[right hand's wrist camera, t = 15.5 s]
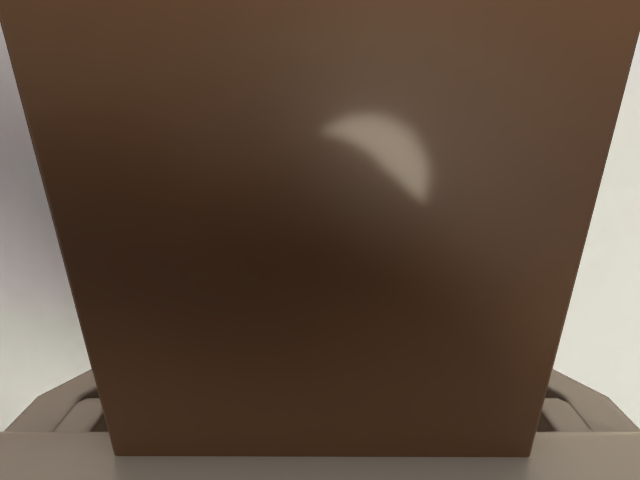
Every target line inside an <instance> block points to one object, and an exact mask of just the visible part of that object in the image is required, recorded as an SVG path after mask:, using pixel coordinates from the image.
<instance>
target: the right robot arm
mask: <svg viewBox="0 0 640 480" xmlns="http://www.w3.org/2000/svg"><path fill="white" fill-rule="evenodd" d="M0 480H640V429H639V428H638V427H637V426H636V425H635V424H634V423H633V422H632V421H631V420H630V419H629V418H628V417H627V416H626V415H625V414H624V413H623V412H622V411H621V410H620V409H619V408H618V407H617V406H616V405H615V404H614V403H613V402H612V401H611V400H610V399H609V398H608V397H607V396H605V395H603V394H601V393H599V392H597V391H595V390H593V389H591V388H589V387H587V386H585V385H583V384H581V383H579V382H577V381H575V380H573V379H571V378H569V377H567V376H565V375H563V374H561V373H559V372H557V371H555V370H553V369H552V372H551V376H550V380H549V384H548V388H547V392H546V396H545V400H544V403H543V407H542V411H541V415H540V419H539V423H538V427H537V430H536V434H535V438H534V442H533V446H532V450H531V454H530V456H529V457H248V456H115V455H114V451H113V447H112V444H111V440H110V436H109V432H108V428H107V425H106V421H105V417H104V413H103V409H102V406H101V402H100V398H99V394H98V390H97V387H96V383H95V379H94V375H93V371H92V369H91V370H89V371H87V372H85V373H83V374H81V375H79V376H77V377H75V378H73V379H71V380H69V381H67V382H66V383H64V384H62V385H60V386H58V387H56V388H54V389H52V390H50V391H48V392H46V393H44V394H42V395H40V396H38V397H37V398H36V399H35V400H34V401H33V402H32V403H31V404H30V405H29V406H28V407H27V408H26V409H25V410H24V411H23V412H22V413H21V414H20V415H19V416H18V417H17V418H16V419H15V420H14V422H13V423H12V424H11V425H10V426H9V427H8V428H7V429H6V430H5V431H4V432H0Z"/></svg>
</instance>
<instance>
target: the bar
mask: <svg viewBox="0 0 640 480" xmlns="http://www.w3.org/2000/svg"><path fill="white" fill-rule="evenodd" d="M0 22H1V26H2V30H3V34H4V37H5V41H6V45H7V49H8V53H9V56H10V60H11V64H12V68H13V72H14V75H15V79H16V83H17V87H18V91H19V94H20V98H21V102H22V106H23V109H24V113H25V117H26V121H27V125H28V128H29V132H30V136H31V140H32V144H33V147H34V151H35V155H36V159H37V163H38V166H39V170H40V174H41V178H42V182H43V185H44V189H45V193H46V197H47V201H48V204H49V208H50V212H51V216H52V220H53V223H54V227H55V231H56V235H57V239H58V242H59V246H60V250H61V254H62V258H63V261H64V265H65V269H66V273H67V277H68V280H69V284H70V288H71V292H72V296H73V299H74V303H75V307H76V311H77V314H78V318H79V322H80V326H81V330H82V333H83V337H84V341H85V345H86V349H87V352H88V356H89V360H90V364H91V368H92V371H93V375H94V379H95V383H96V387H97V390H98V394H99V398H100V402H101V406H102V409H103V413H104V417H105V421H106V425H107V428H108V432H109V436H110V440H111V444H112V447H113V451H114V455H115V456H248V457H529V456H530V454H531V450H532V446H533V442H534V438H535V434H536V430H537V427H538V423H539V419H540V415H541V411H542V407H543V403H544V400H545V396H546V392H547V388H548V384H549V380H550V376H551V372H552V369H553V365H554V361H555V357H556V353H557V349H558V345H559V342H560V338H561V334H562V330H563V326H564V322H565V318H566V314H567V311H568V307H569V303H570V299H571V295H572V291H573V287H574V284H575V280H576V276H577V272H578V268H579V264H580V260H581V256H582V253H583V249H584V245H585V241H586V237H587V233H588V229H589V225H590V222H591V218H592V214H593V210H594V206H595V202H596V198H597V195H598V191H599V187H600V183H601V179H602V175H603V171H604V167H605V164H606V160H607V156H608V152H609V148H610V144H611V140H612V137H613V133H614V129H615V125H616V121H617V117H618V113H619V109H620V106H621V102H622V98H623V94H624V90H625V86H626V82H627V79H628V75H629V71H630V67H631V63H632V59H633V55H634V51H635V48H636V44H637V40H638V36H639V32H640V0H0Z"/></svg>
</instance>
